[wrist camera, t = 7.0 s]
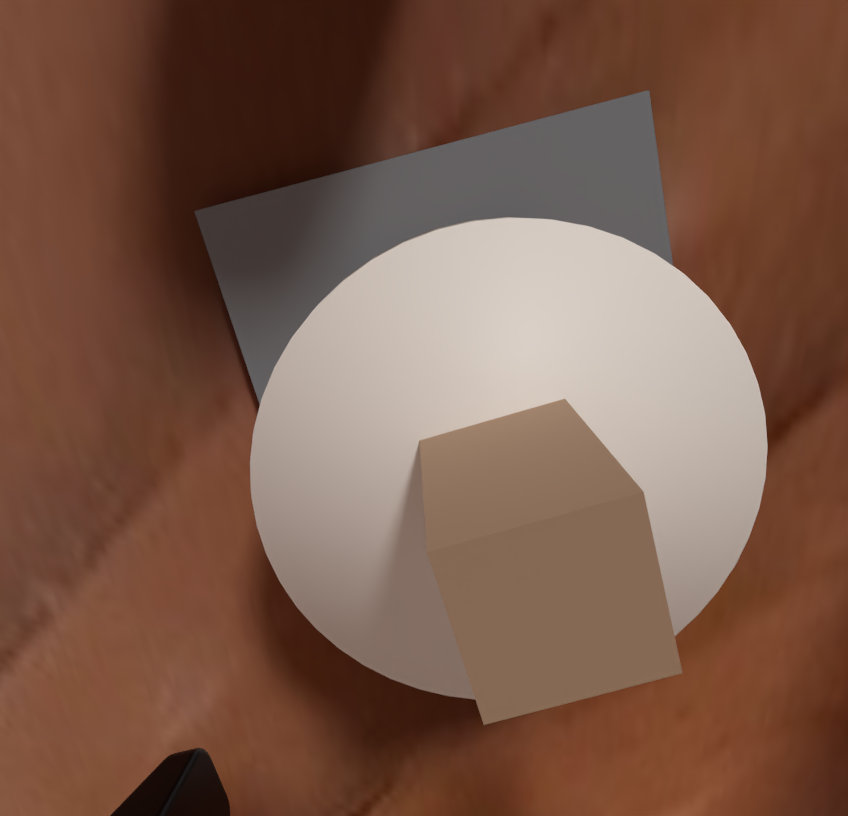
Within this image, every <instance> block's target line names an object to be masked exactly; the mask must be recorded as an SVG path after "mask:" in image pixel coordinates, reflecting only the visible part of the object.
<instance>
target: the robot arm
mask: <svg viewBox="0 0 848 816" xmlns="http://www.w3.org/2000/svg"><path fill="white" fill-rule="evenodd" d="M110 816H230V806H229V801H228V798H227V795H226V792H225V790H224V788H223V785H222V783H221V781H220V779H219V776H218V774H217V772H216V769H215V767H214V765H213V762H212V760H211V758H210V756H209V754H208V753H207V752H206V751H205V750H204V749H201V748H195V749H191V750H187V751H182V752H178V753H174V754H172V755H170V756H168V757H167V758H166V759H165V760H164V761H163V762H162V763H161V764H160V765H159V766H158V767H157V768H156V769H155V770H154V771H153V772H152V773H151V774H150V775H149V776H148V777H147V778H146V779H145V780H144V781H143V782H142V783H141V784H140V785H139V786H138V787H137V789H136V790H135V791H134V792H133V793H132V794H131V795H130V796H129V797H128V798H127V799H126V800H125V801H124V802H123V803H122V804H121V805H120V806H119V807H118V808H117V809H116V810H115V811H114V812H113V813H112V814H111V815H110Z"/></svg>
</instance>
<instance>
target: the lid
mask: <svg viewBox="0 0 848 816" xmlns="http://www.w3.org/2000/svg"><path fill="white" fill-rule="evenodd" d="M766 461H767V433H766V420H765V412H764V407H763V403H762V399H761V394H760V390H759V385H758V382H757V379H756V377H755V374H754V371H753V369H752V366H751V364H750V361H749V358H748V356H747V353H746V351H745V350H744V348H743V346H742V344H741V342H740V341H739V339H738V337H737V335H736V334H735V332H734V330H733V328H732V327H731V325H730V323H729V322H728V321H727V320H726V318H725V317H724V316H723V314H722V313H721V312H720V311H719V309H718V308H717V307H716V306H715V304H714V303H713V302H712V300H711V299H710V298H709V297H708V296H707V295H706V294H705V293H704V292H703V291H702V290H701V289H700V288H699V287H698V286H696V285H695V284H694V283H693V282H692V281H691V280H690V279H689V278H688V277H687V276H686V275H685V274H684V273H682V272H681V271H679V270H678V269H676V268H675V267H674V266H672V265H671V264H669V263H668V262H666V261H665V260H664V259H662V258H661V257H659V256H658V255H656V254H655V253H653V252H651V251H649V250H647V249H645V248H643V247H641V246H639V245H637V244H635V243H633V242H631V241H629V240H627V239H625V238H623V237H620V236H617V235H614V234H611V233H608V232H605V231H602V230H599V229H596V228H593V227H590V226H585V225H579V224H574V223H569V222H563V221H558V220H552V219H538V218H515V217H502V218H492V219H481V220H471V221H466V222H462V223H458V224H454V225H449V226H445V227H441V228H437V229H434V230H431V231H429V232H426V233H423V234H421V235H418V236H416V237H413V238H410V239H408V240H405V241H403V242H401V243H399V244H397V245H395V246H394V247H392V248H390V249H388V250H386V251H384V252H383V253H381V254H379V255H377V256H375V257H373V258H372V259H370V260H369V261H368V262H366V263H365V264H364V265H362V266H361V267H360V268H358V269H357V270H355V271H354V272H353V273H351V274H350V275H349V276H347V277H346V278H345V279H344V280H343V281H342V282H341V283H340V284H338V285H337V286H336V287H335V288H334V289H333V290H332V291H331V292H330V293H329V294H328V295H327V296H326V297H325V298H324V299H323V300H322V301H321V302H320V303H319V304H318V305H317V306H316V307H315V309H314V310H313V311H312V312H311V314H310V315H309V316H308V317H307V319H306V320H305V321H304V322H303V324H302V325H301V326H300V328H299V329H298V330H297V331H296V333H295V334H294V335H293V336H292V338H291V340H290V341H289V343H288V345H287V347H286V348H285V350H284V352H283V353H282V355H281V357H280V359H279V360H278V362H277V364H276V365H275V367H274V370H273V372H272V374H271V377H270V379H269V382H268V384H267V387H266V389H265V392H264V394H263V396H262V399H261V403H260V407H259V411H258V415H257V419H256V423H255V427H254V431H253V439H252V449H251V458H250V477H251V497H252V502H253V508H254V513H255V519H256V524H257V528H258V531H259V534H260V537H261V540H262V543H263V546H264V549H265V552H266V555H267V557H268V559H269V561H270V563H271V565H272V567H273V569H274V571H275V573H276V575H277V577H278V579H279V581H280V583H281V585H282V586H283V587H284V589H285V590H286V592H287V593H288V595H289V596H290V598H291V599H292V601H293V602H294V604H295V605H296V607H297V608H298V609H299V610H300V611H301V612H302V614H303V615H304V616H305V617H306V618H307V619H308V620H309V621H310V623H311V624H312V625H313V626H314V627H315V628H316V629H317V630H318V631H319V632H320V633H321V634H323V635H324V636H325V637H326V638H327V639H328V640H329V641H331V642H332V643H333V644H334V645H335V646H336V647H338V648H339V649H340V650H342V651H343V652H345V653H346V654H348V655H349V656H351V657H352V658H354V659H355V660H357V661H358V662H359V663H361V664H362V665H364V666H366V667H368V668H370V669H372V670H374V671H376V672H378V673H380V674H382V675H384V676H386V677H388V678H390V679H392V680H395V681H398V682H401V683H403V684H406V685H409V686H411V687H414V688H417V689H420V690H425V691H429V692H433V693H437V694H441V695H445V696H452V697H460V698H468V699H475V700H476V703H477V706H478V709H479V712H480V715H481V718H482V721H483V724H484V725H486V724H490V723H493V722H497V721H501V720H505V719H509V718H513V717H516V716H520V715H524V714H528V713H532V712H535V711H539V710H543V709H547V708H551V707H555V706H558V705H562V704H566V703H570V702H574V701H578V700H581V699H585V698H589V697H593V696H597V695H601V694H604V693H608V692H612V691H616V690H620V689H624V688H627V687H631V686H635V685H639V684H643V683H646V682H650V681H654V680H658V679H662V678H666V677H669V676H673V675H677V674H681V673H682V669H681V664H680V660H679V655H678V650H677V646H676V641H675V636H676V635H677V634H678V633H679V632H680V631H681V630H682V629H683V628H684V627H685V626H686V625H687V624H689V623H690V622H691V621H692V620H693V619H694V618H695V617H696V616H697V615H698V614H699V613H700V612H701V611H702V609H703V608H704V607H705V606H706V605H707V604H708V602H709V601H710V600H711V599H712V598H713V596H714V595H715V594H716V593H717V592H718V590H719V589H720V587H721V586H722V584H723V583H724V581H725V580H726V578H727V577H728V575H729V574H730V572H731V571H732V569H733V568H734V566H735V565H736V563H737V561H738V559H739V557H740V555H741V553H742V551H743V549H744V547H745V545H746V543H747V541H748V538H749V536H750V533H751V530H752V527H753V525H754V522H755V519H756V516H757V513H758V510H759V507H760V502H761V497H762V492H763V487H764V482H765V477H766Z"/></svg>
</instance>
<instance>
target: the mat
mask: <svg viewBox="0 0 848 816" xmlns="http://www.w3.org/2000/svg"><path fill="white" fill-rule="evenodd" d="M194 212H195V215H196V218H197V221H198V224H199V227H200V230H201V233H202V236H203V239H204V242H205V245H206V248H207V251H208V254H209V256H210V259H211V262H212V265H213V268H214V271H215V274H216V277H217V280H218V283H219V286H220V289H221V292H222V295H223V298H224V301H225V304H226V307H227V310H228V313H229V316H230V319H231V322H232V324H233V327H234V330H235V333H236V336H237V339H238V342H239V345H240V348H241V351H242V354H243V357H244V360H245V363H246V366H247V369H248V372H249V375H250V378H251V381H252V384H253V387H254V390H255V392H256V395H257V398H258V401H259V404H260V403H261V399H262V396H263V394H264V392H265V389H266V387H267V384H268V382H269V379H270V377H271V374H272V372H273V370H274V367H275V365H276V364H277V362H278V360H279V359H280V357H281V355H282V353H283V352H284V350H285V348H286V347H287V345H288V343H289V341H290V340H291V338H292V336H293V335H294V334H295V333H296V331H297V330H298V329H299V328H300V326H301V325H302V324H303V322H304V321H305V320H306V319H307V317H308V316H309V315H310V314H311V312H312V311H313V310H314V309H315V307H316V306H317V305H318V304H319V303H320V302H321V301H322V300H323V299H324V298H325V297H326V296H327V295H328V294H329V293H330V292H331V291H332V290H333V289H334V288H335V287H336V286H337V285H338V284H340V283H341V282H342V281H343V280H344V279H345V278H346V277H347V276H349V275H350V274H351V273H353V272H354V271H355V270H357V269H358V268H360V267H361V266H362V265H364V264H365V263H366V262H368V261H369V260H370V259H372V258H373V257H375V256H377V255H379V254H381V253H383V252H384V251H386V250H388V249H390V248H392V247H394V246H395V245H397V244H399V243H401V242H403V241H405V240H408V239H410V238H413V237H416V236H418V235H421V234H423V233H426V232H429V231H431V230H434V229H437V228H441V227H445V226H449V225H454V224H458V223H462V222H466V221H471V220H481V219H492V218H502V217H515V218H538V219H552V220H558V221H563V222H569V223H574V224H579V225H585V226H590V227H593V228H596V229H599V230H602V231H605V232H608V233H611V234H614V235H617V236H620V237H623V238H625V239H627V240H629V241H631V242H633V243H635V244H637V245H639V246H641V247H643V248H645V249H647V250H649V251H651V252H653V253H655V254H656V255H658V256H659V257H661V258H662V259H664V260H665V261H666V262H668V263H669V264H671V265H672V266H673V262H672V254H671V247H670V240H669V233H668V225H667V218H666V211H665V203H664V196H663V189H662V181H661V174H660V167H659V159H658V152H657V145H656V137H655V130H654V123H653V115H652V108H651V101H650V94H649V90H648V91H644V92H640V93H636V94H633V95H629V96H625V97H621V98H618V99H614V100H610V101H606V102H602V103H599V104H595V105H591V106H587V107H584V108H580V109H576V110H572V111H569V112H565V113H561V114H557V115H554V116H550V117H546V118H542V119H538V120H535V121H531V122H527V123H523V124H520V125H516V126H512V127H508V128H505V129H501V130H497V131H493V132H490V133H486V134H482V135H478V136H475V137H471V138H467V139H463V140H459V141H456V142H452V143H448V144H444V145H441V146H437V147H433V148H429V149H426V150H422V151H418V152H414V153H411V154H407V155H403V156H399V157H395V158H392V159H388V160H384V161H380V162H377V163H373V164H369V165H365V166H362V167H358V168H354V169H350V170H347V171H343V172H339V173H335V174H332V175H328V176H324V177H320V178H316V179H313V180H309V181H305V182H301V183H298V184H294V185H290V186H286V187H283V188H279V189H275V190H271V191H268V192H264V193H260V194H256V195H252V196H249V197H245V198H241V199H237V200H234V201H230V202H226V203H222V204H219V205H215V206H211V207H207V208H204V209H200V210H196V211H194ZM343 653H345V652H343Z"/></svg>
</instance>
